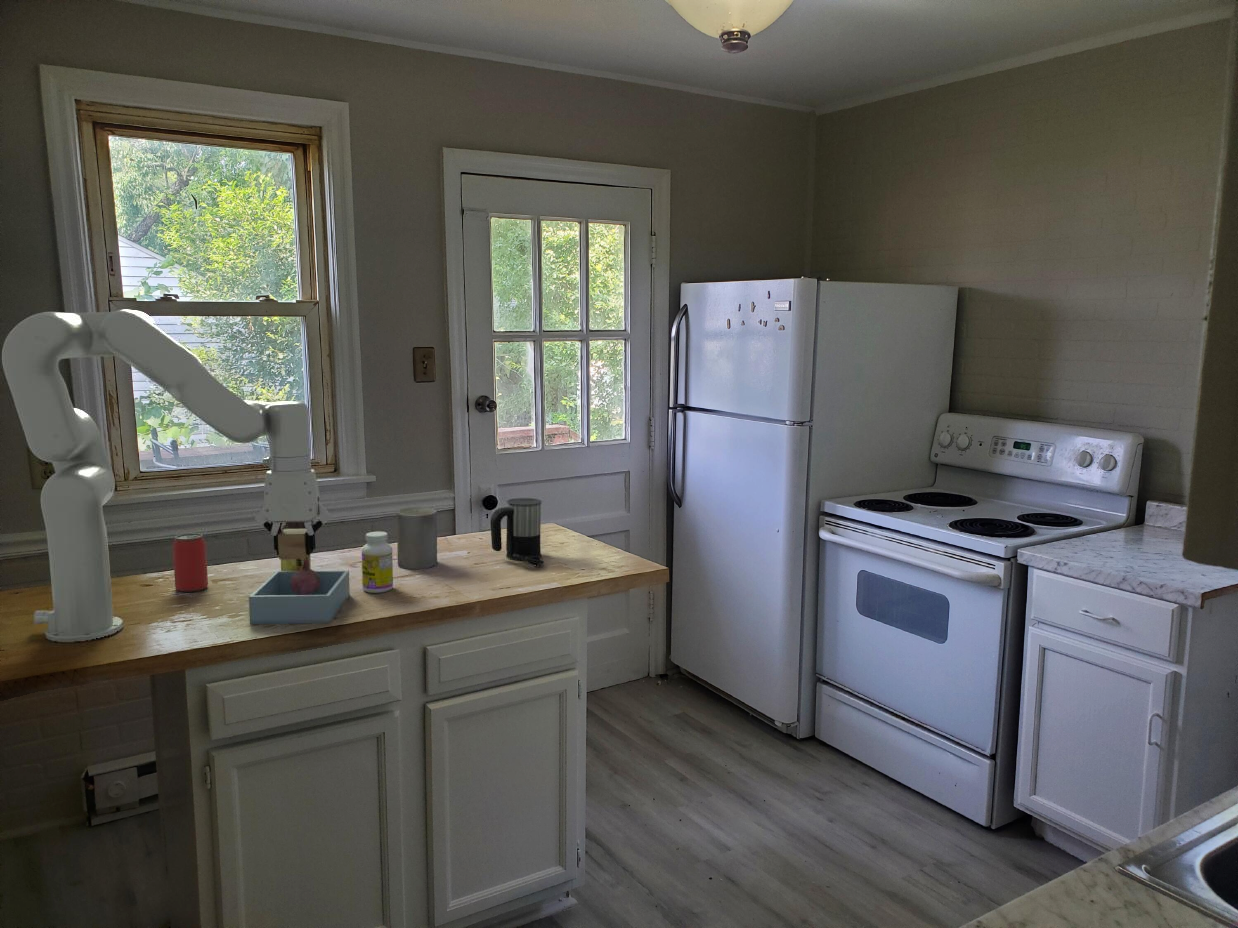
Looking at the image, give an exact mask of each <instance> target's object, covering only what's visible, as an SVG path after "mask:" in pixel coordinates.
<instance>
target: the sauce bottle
mask: <svg viewBox="0 0 1238 928" xmlns="http://www.w3.org/2000/svg"><path fill="white" fill-rule="evenodd" d="M284 529H306V527H305V524H304V522H284V525H283V526H282V528H281V530H282V531H283V530H284ZM308 559H309V562H308V563H309V569H311V570H312V568H311V554H310V555H308ZM303 564H304V559H280V571H299V570H301V569H302V567H303Z"/></svg>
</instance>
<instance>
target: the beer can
mask: <svg viewBox="0 0 1238 928" xmlns="http://www.w3.org/2000/svg"><path fill="white" fill-rule="evenodd" d="M172 545H173V546H172V557H173V558H172V559H173V572H174V573H173V574H174V575H173V577H174V587H175V589H176V590H177V591H178V592H182V593H193V592H198V591H199V592H200V591H202V590H204V589H206V588H208V585H209V579H208V578H209V577H208V560H207V559H208V558H207V544H206V541H205V539H204V537H203V534H202V533H196V532H195V533H183V534H179V535H175V537H174V542H173V544H172Z"/></svg>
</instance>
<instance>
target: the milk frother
mask: <svg viewBox="0 0 1238 928" xmlns="http://www.w3.org/2000/svg"><path fill="white" fill-rule="evenodd" d="M506 503H507V506H505V507H499V508H498V509H496V510H495V511H494V512H493V513H492V515H491V517H490V535H491V536H490V537H491V549H492V550H493V551H496V552H501V551H502V546H503V542H502V520H503V519H504V518H505V517H506V540H505V541H506V542H505V547H506V549H505V550H506V554H505V558H508V559H509V558H510V560H514V561H524V562H527V563H528V564H530V565H536V566H537V567H538V566H539V565H544V564H545V560H544V559H541V557H542V556H541V555H542V554H541V551H542V550H541V525H542V524H541V523H542V522H541V521H542V520H541V518H542V517H541V516H542V511H541V510H542V503H543V500H541V499H538V498H532V497H531V498H530V497H529V498H528V497H519V498H511V499H507V500H506ZM540 556H541V557H540ZM536 566H535V567H536Z"/></svg>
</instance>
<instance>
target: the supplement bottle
mask: <svg viewBox="0 0 1238 928" xmlns="http://www.w3.org/2000/svg"><path fill="white" fill-rule="evenodd" d="M388 539H389V538H388V533H387V532H385V531H371V532H367V533H365V540H366V544H365V545H363V546H362V548H361V578H362V579H361V580H362V585H361V586H362V590H363V591H364V592H366V593H371V594H380V593H386V592H389V591H391V590H392V589H393V588H394V577H393V575H394V574H393V573H394V568H393V566H394V565H393V547H392V546H391V544H390V543H388Z"/></svg>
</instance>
